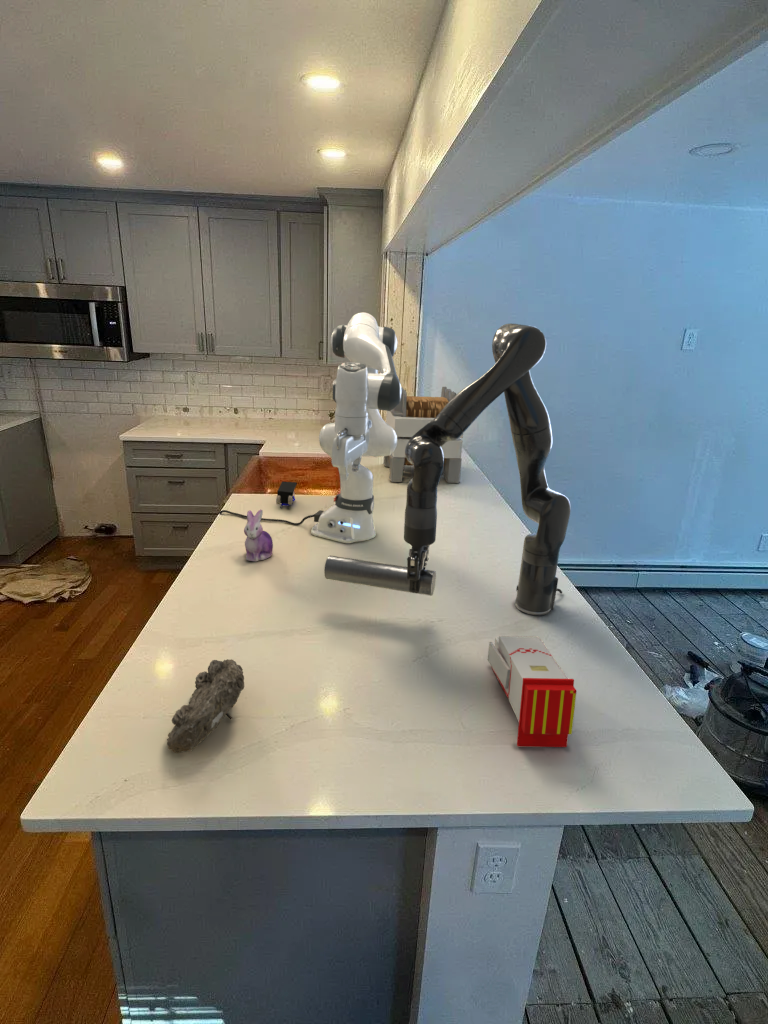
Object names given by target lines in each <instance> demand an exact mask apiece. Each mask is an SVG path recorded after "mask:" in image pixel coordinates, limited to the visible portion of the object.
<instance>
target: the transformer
mask: <svg viewBox="0 0 768 1024" xmlns="http://www.w3.org/2000/svg"><path fill="white" fill-rule="evenodd" d="M401 390H402V394H401V400H400V403H399V405H398V406H396V407H395V408H394V409H392V410H391V411H386V413H385V414H386V415H385V422H386V423H387V424H388V425H389V426H391V427H392V428H393V429H394V431H395V433H396V435H397V446H396V449H395V450H394V452H393V453H392V454H391V455H389V456H383V466H384V467H388V468H389V475H388V476H389V477H388V478H389V480H390V482H391V483H402V482H403V475H404V469H405V466H406V467H407V466H411V467H412V466H413V467H414V465H412V464H411V463H410V462H409V461H408V460H407V458H406V456H405V448H406V445H407V443H408V441H409V440H410V439H411V437H412V436H413V435H414V434H415V433H417V432H418V431H419V430H420V429H421V428H423V427H424V426H425V425H426V424H428V423H429V422H431V421H432V420H433V419H435V418H436V417H437V415H438V414H439V413H440V412H441V411H442V409H443V408H444V407H445V406H446V405H447V404H448V403H449V402H450V400H451V399H452V398H453V397H454V396H455V395H456V394H457V392H455V391H453V390H452V389H451V388H447V386H442V387H441V392H440V393H441V394H440V396H415V395H414V396H413V395H412V396H411V395H407V394H408V393H407V390H406V389H404V388H403V387H402V386H401ZM463 438H464V433H463V434H462V435H461V436H460V437H459V438H458V439H457V440H454V441H448V442H446V443H445V444H444V445H443V446H442V447H441V448H442V450H443V454H444V466H443V470H442V474H441V475H443V478H444V479H445V481H446V482H447V483H449V484H455V483H456V484H459V483H461V472H462V461H463V460H462V453H463V442H464V441H463V440H462V439H463Z"/></svg>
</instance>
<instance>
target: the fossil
mask: <svg viewBox="0 0 768 1024" xmlns="http://www.w3.org/2000/svg"><path fill="white" fill-rule="evenodd" d="M243 670H244V669H243V667H242V665H240V664H237V662H236V661H235V660H234V659H232V658H231V659H227V658H226V659H224V660H223V661H222V660H217V659H212V660H211V661H210V663H209V665H208V666H207V671H201V672H199V673H198V674H197V675H196V676H195V680H194V684H195V685H194V687H195V689H194V690H193V693H192V694H191V697H190V698H189V700H188V704H184V705H182V706H181V707H180V709H177V710H176V711H175V713H174V715H173V716H172V718H171V723H172V724H173V727H172V730H171V731H170V732H168V734H167V738H166V741H167V742H166V745H167V749H168V750H169V751H173V752H174V753H176V754H178V753H182V752H188V751H189V752H192V751H193V750H195V748H196V747H197V746H199V744H200V743H201V742H203V741H204V740H205V739H206V738H207V737H208V736H209V735H210V734H211V733H212V732H214V730H215V729H217V727H218V726H219V724H220V722H221V721H222V720H223V719H224V718H225V716H226V717H227V719H229V720H233V717H232V715H230V714H229V710H230V709H231V708H234V706H235V704H236V703H237V702H238V699H239V697H240V695H241V693H242V691H243V690H245V689H244V688H245V675H244V671H243Z"/></svg>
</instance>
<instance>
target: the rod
mask: <svg viewBox="0 0 768 1024" xmlns="http://www.w3.org/2000/svg"><path fill="white" fill-rule="evenodd" d="M324 563H325V564H324V568H323V570H324V571H323V573H324V579H326V580H329V581H335V582H341V583H342V582H343V583H347V584H353V585H354V584H355V585H359V586H360V585H361V586H365V587H366V586H368V587H373V588H379V589H386V590H391V591H399V592H405V593H410V594H412V593H411V592H410V591H409V587H410V579H407V566H403V565H398V564H397V565H396V564H391V563H390V564H389V563H383V562H377V561H370V560H363V559H358V558H357V559H356V558H351V557H350V558H349V557H343V556H337V555H328V557H327V558H326V560H325V562H324ZM412 574H415V572H412ZM436 580H437V572H436V571H435V570H431V569H426V568H425V569H423V570H421V573H420V581H419V592H418V593H416V594H418V595H424V596H429V597H431V596H433V595H434V592H435V588H436V582H437V581H436Z"/></svg>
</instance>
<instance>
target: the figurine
mask: <svg viewBox="0 0 768 1024" xmlns="http://www.w3.org/2000/svg"><path fill="white" fill-rule="evenodd" d="M263 513H264V512H263V509H261V508H260V509H259V510H258V511H257V512H256V513H255V514H254V513H253V511H252V510H247V513H246V516H247V518H246V521H247V522H246V524H245V526H244V529H243V532H244V535H245V536H246V538H245V540H244V549H245V551H246V554H245V560H246V561H250V562H259V561H264V560H267V559H269V558H270V557H272V556H273V548H274V543H273V538H272V536H271V534H270V533H269V532H267V531H265V530H263V526H262V524H261V522H262V520H261V518H263Z"/></svg>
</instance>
